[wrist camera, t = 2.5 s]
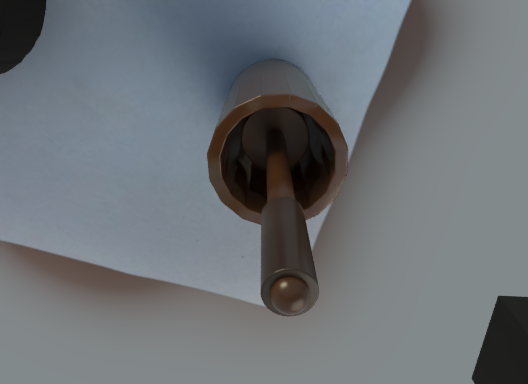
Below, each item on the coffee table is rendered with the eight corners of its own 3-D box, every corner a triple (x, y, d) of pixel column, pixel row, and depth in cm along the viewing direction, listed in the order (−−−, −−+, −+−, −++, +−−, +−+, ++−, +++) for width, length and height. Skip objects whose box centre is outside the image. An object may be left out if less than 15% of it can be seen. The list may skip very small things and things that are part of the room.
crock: (316, 57, 41) (350, 91, 25) (316, 145, 44) (345, 224, 29) (224, 61, 41) (201, 97, 25) (231, 149, 44) (214, 228, 29)
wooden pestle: (306, 96, 33) (372, 237, 13) (306, 158, 35) (363, 362, 15) (240, 99, 33) (208, 243, 13) (244, 161, 35) (220, 366, 15)
